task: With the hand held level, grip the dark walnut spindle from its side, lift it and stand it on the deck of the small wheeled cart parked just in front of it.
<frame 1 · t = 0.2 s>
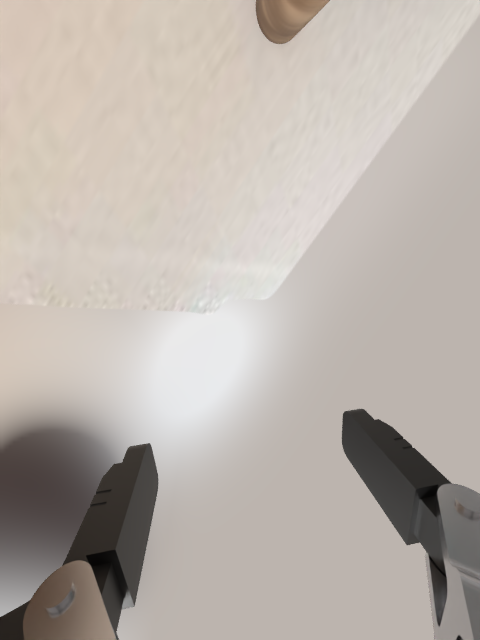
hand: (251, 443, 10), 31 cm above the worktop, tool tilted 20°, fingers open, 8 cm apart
walnut spindle: (281, 6, 24), on the worktop
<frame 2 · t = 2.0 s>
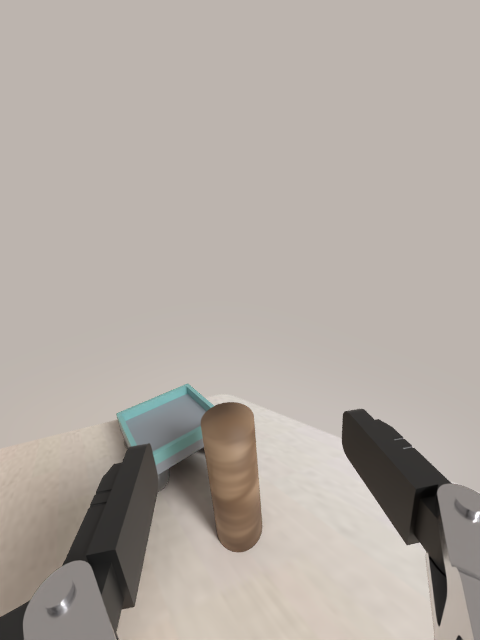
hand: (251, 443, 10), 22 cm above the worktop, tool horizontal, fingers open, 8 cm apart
wheeled cart: (172, 432, 37), point 3 cm above the worktop, slide at 0.0 cm
walnut spindle: (239, 525, 27), on the worktop
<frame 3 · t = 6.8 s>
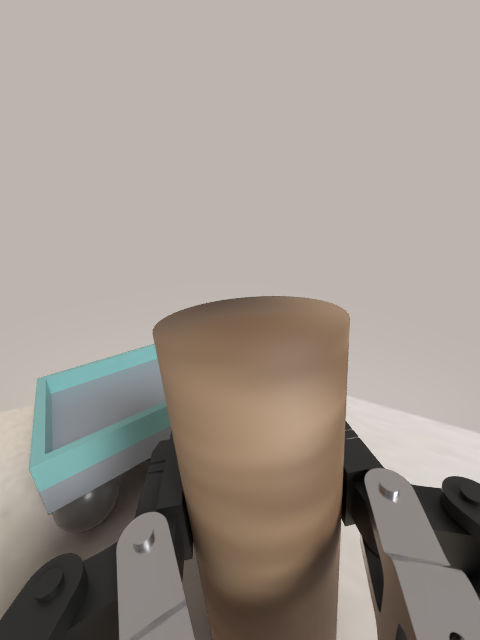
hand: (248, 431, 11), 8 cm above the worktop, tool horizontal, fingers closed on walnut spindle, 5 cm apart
wheeled cart: (136, 411, 21), point 3 cm above the worktop, slide at 0.0 cm
walnut spindle: (272, 627, 11), on the worktop, touching gripper
when the fingers open (14 cm above the worktop, at t = 12.0 s): walnut spindle drops 1 cm, resting on wheeled cart.
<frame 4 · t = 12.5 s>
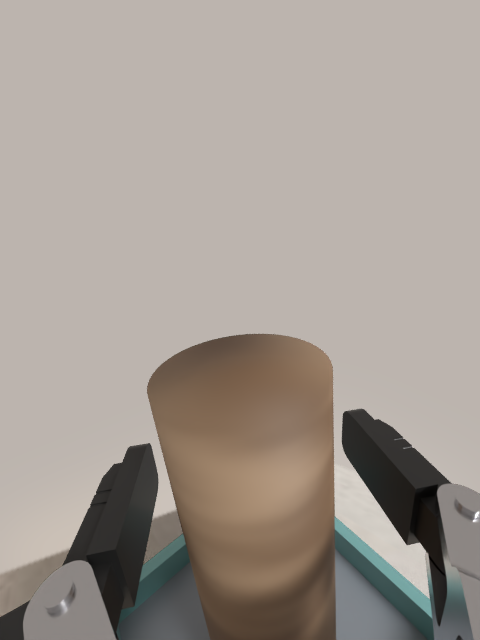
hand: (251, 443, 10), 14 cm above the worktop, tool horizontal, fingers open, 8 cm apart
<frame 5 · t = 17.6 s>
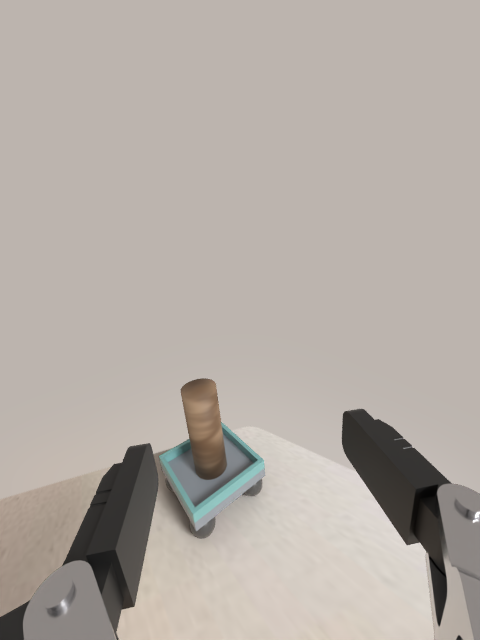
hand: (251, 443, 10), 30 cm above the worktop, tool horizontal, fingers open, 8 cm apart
wheeled cart: (212, 473, 40), point 3 cm above the worktop, slide at 0.0 cm, touching walnut spindle
walnut spindle: (211, 465, 39), point 5 cm above the worktop, touching wheeled cart
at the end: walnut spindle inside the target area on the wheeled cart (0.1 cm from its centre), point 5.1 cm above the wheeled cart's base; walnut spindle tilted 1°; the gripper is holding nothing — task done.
